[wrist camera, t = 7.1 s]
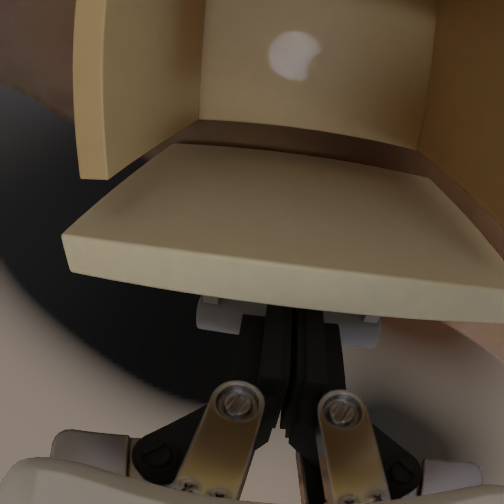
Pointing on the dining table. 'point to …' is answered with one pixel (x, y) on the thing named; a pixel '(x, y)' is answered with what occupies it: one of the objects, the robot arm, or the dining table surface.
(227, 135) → the dining table surface
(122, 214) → the drawer
